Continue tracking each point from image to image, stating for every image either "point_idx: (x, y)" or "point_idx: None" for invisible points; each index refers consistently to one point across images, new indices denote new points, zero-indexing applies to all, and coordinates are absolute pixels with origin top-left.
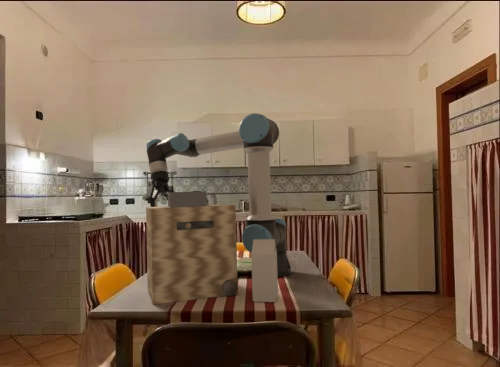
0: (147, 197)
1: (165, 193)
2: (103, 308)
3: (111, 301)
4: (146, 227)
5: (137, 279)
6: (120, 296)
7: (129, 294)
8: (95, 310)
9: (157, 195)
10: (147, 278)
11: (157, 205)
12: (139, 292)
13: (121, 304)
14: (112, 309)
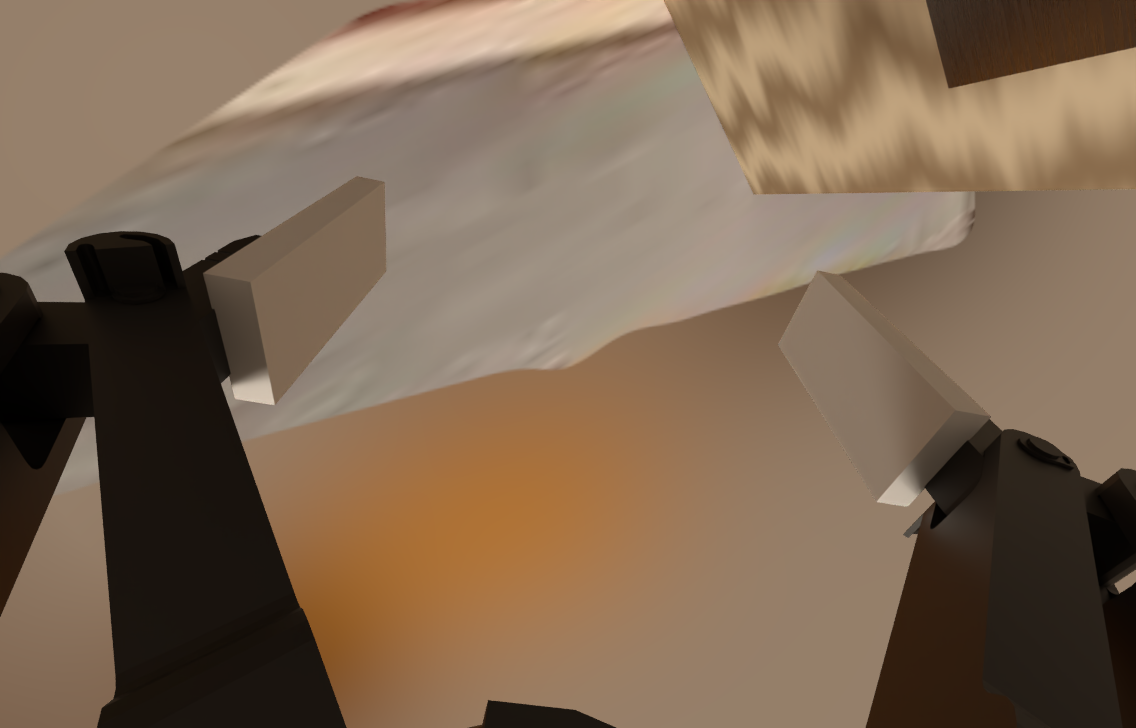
0: (1132, 566)
1: (495, 724)
2: (942, 230)
3: (875, 255)
4: (1081, 189)
5: (560, 367)
6: (820, 263)
7: (796, 244)
8: (957, 242)
9: (1013, 542)
10: (789, 193)
11: (909, 361)
12: (770, 220)
13: (910, 194)
14: (956, 191)
